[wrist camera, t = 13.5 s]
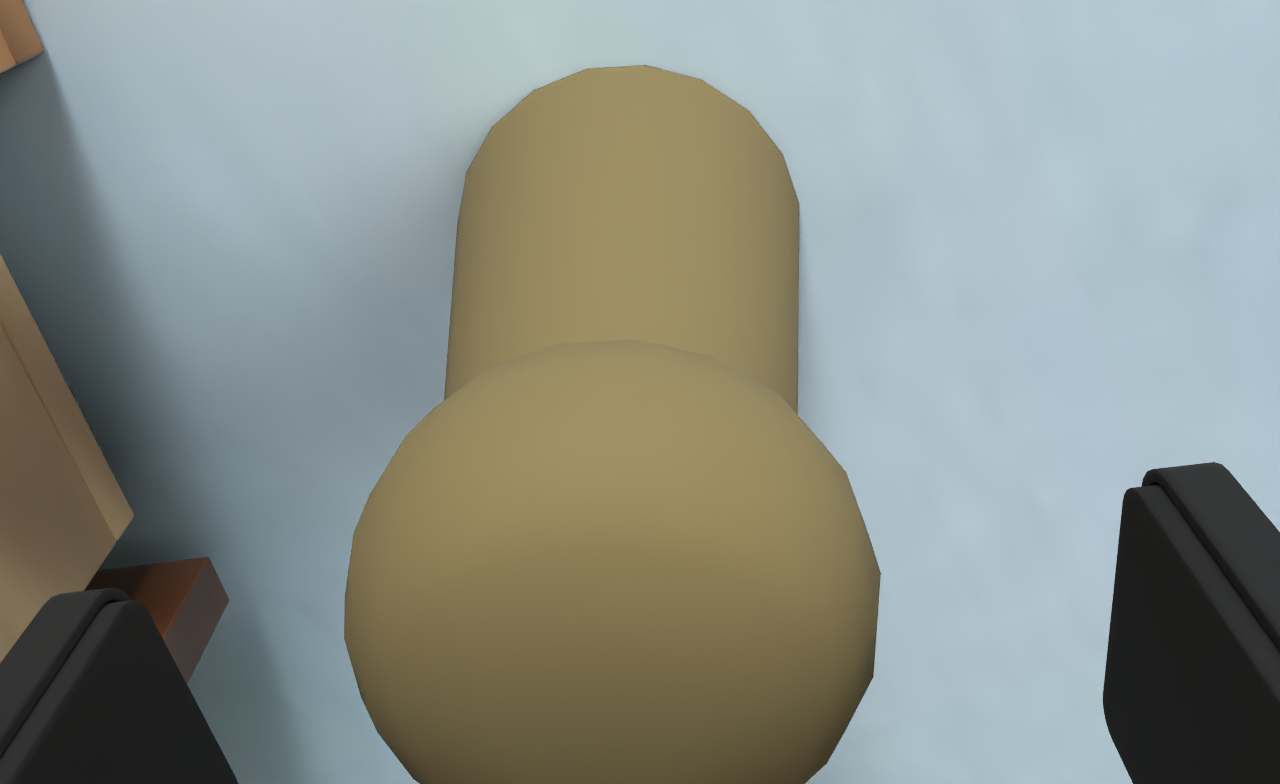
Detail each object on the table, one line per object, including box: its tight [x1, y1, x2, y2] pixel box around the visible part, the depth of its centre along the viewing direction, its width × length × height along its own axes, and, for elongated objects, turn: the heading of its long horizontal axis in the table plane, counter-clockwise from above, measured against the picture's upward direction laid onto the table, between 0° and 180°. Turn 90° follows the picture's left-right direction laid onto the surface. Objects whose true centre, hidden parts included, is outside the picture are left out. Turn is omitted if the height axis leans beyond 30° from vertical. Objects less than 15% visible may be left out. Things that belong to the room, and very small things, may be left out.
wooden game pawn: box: [344, 65, 881, 784], centre depth 14 cm, size 6×6×11 cm
